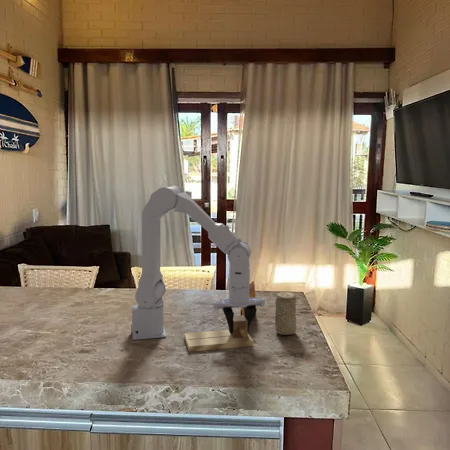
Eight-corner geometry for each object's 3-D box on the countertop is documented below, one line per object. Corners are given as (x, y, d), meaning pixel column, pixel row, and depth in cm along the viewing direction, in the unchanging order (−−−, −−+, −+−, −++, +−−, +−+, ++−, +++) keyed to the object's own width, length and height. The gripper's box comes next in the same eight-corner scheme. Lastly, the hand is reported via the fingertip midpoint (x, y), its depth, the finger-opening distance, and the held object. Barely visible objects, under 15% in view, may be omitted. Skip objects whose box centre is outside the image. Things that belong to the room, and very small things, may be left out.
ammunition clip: (245, 327, 131) (246, 289, 129) (239, 326, 131) (240, 288, 130) (255, 315, 141) (256, 280, 139) (250, 314, 141) (251, 279, 140)
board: (188, 351, 113) (188, 346, 113) (184, 338, 122) (184, 333, 122) (253, 345, 117) (253, 340, 117) (244, 333, 126) (244, 328, 126)
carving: (291, 327, 130) (292, 290, 129) (299, 337, 123) (301, 298, 121) (271, 328, 129) (272, 290, 128) (278, 338, 122) (279, 298, 120)
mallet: (238, 346, 114) (238, 328, 113) (230, 332, 122) (230, 316, 121) (252, 345, 114) (253, 327, 114) (243, 331, 123) (243, 315, 122)
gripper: (217, 291, 113) (216, 339, 115) (268, 288, 116) (267, 334, 118) (211, 283, 120) (211, 329, 122) (260, 281, 123) (259, 325, 125)
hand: (238, 331), depth 121 cm, fingers closed on mallet, 4 cm apart
